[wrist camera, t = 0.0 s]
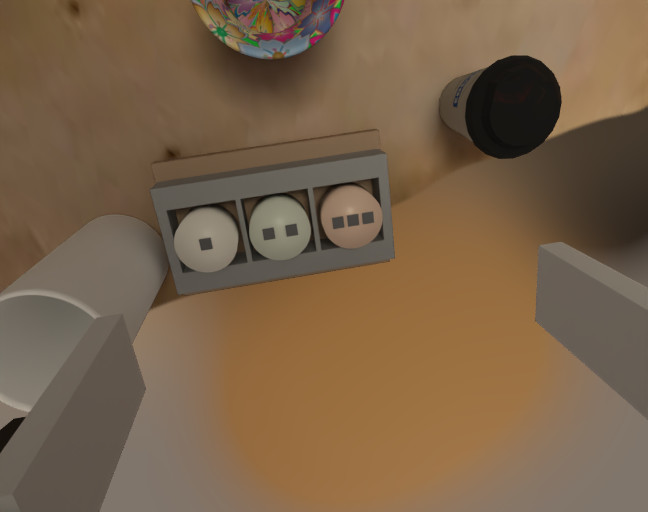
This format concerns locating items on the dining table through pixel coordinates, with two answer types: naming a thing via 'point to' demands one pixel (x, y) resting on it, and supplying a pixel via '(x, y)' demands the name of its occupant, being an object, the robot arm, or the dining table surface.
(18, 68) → the dining table surface
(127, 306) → the cup
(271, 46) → the mug
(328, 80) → the dining table surface
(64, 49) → the dining table surface
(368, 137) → the console
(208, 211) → the button
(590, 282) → the robot arm
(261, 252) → the button
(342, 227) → the button
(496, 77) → the coffee cup
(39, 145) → the dining table surface
